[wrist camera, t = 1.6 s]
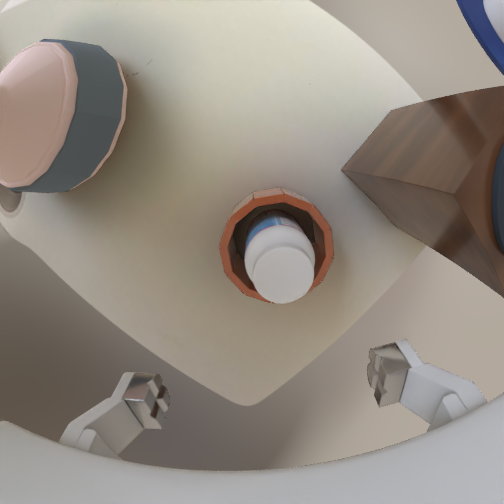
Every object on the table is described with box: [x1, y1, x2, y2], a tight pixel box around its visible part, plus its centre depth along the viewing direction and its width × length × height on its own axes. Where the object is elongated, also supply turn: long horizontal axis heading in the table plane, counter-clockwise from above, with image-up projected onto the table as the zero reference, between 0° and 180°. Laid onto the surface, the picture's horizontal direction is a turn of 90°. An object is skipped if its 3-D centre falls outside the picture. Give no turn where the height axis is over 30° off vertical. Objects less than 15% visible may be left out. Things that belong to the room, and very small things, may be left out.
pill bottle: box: [245, 210, 315, 304], centre depth 26 cm, size 6×6×11 cm
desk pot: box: [219, 187, 334, 303], centre depth 29 cm, size 11×11×6 cm
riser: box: [341, 86, 504, 298], centre depth 19 cm, size 10×10×19 cm
